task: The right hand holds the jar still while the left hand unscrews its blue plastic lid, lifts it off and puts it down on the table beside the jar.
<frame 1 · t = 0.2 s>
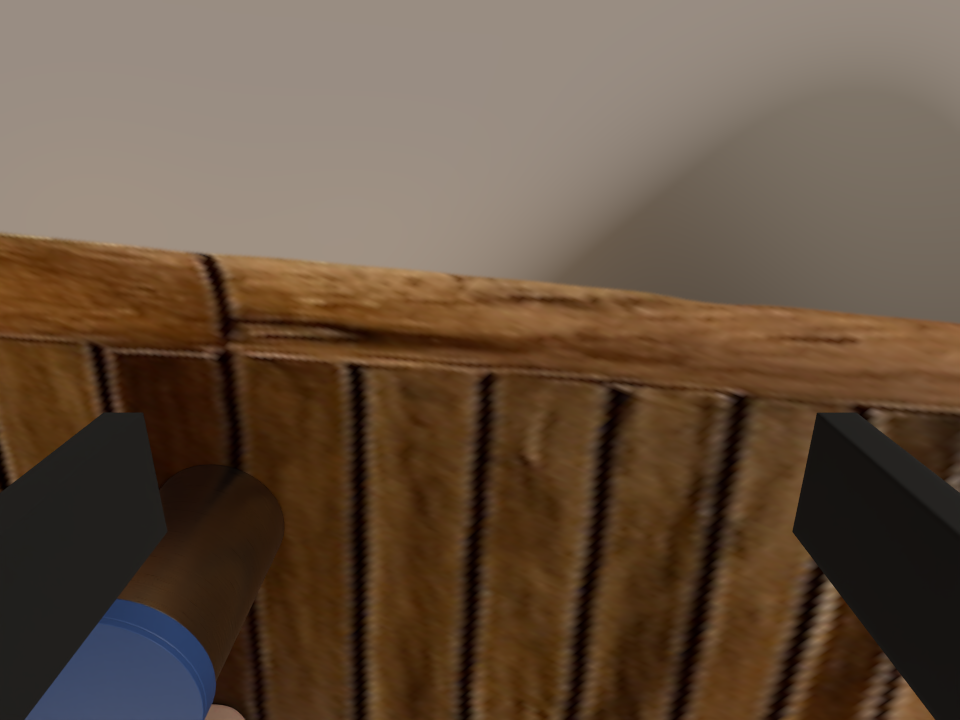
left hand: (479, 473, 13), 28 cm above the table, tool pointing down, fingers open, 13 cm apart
lid: (106, 694, 32), point 15 cm above the table, screwed on, not yet turned
jar: (220, 520, 46), on the table
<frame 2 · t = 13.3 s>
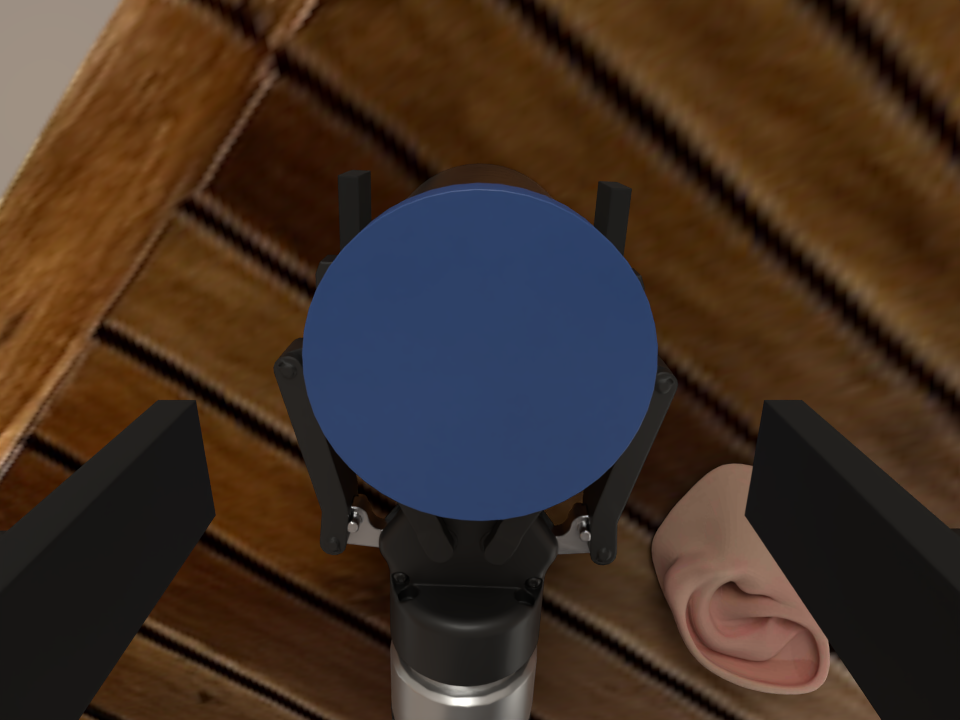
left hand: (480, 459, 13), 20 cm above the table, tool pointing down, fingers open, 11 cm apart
lid: (479, 366, 18), point 15 cm above the table, screwed on, not yet turned
anatomical model: (739, 560, 39), on the table
jar: (480, 259, 32), on the table, touching right hand
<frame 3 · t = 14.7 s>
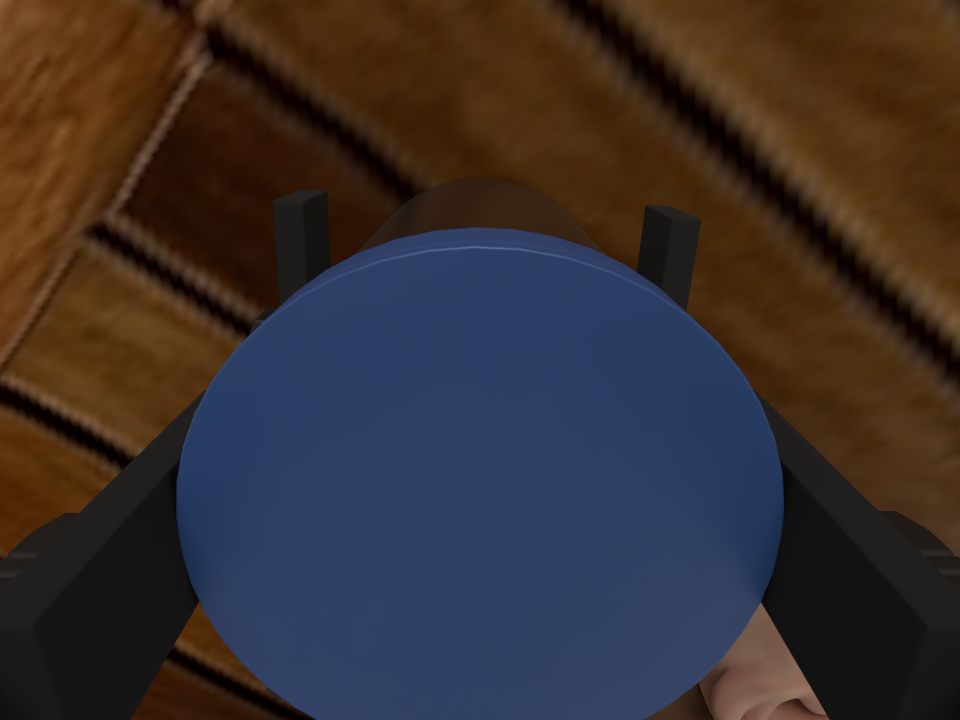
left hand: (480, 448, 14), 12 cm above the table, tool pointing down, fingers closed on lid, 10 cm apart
lid: (480, 533, 11), point 15 cm above the table, screwed on, not yet turned, touching left hand
anatomical model: (800, 663, 31), on the table
jar: (480, 300, 25), on the table, touching right hand
when the left hand's fingers open (12 cm above the table, at t = 16.4 s): lid stays where it is, point 15 cm above the table.
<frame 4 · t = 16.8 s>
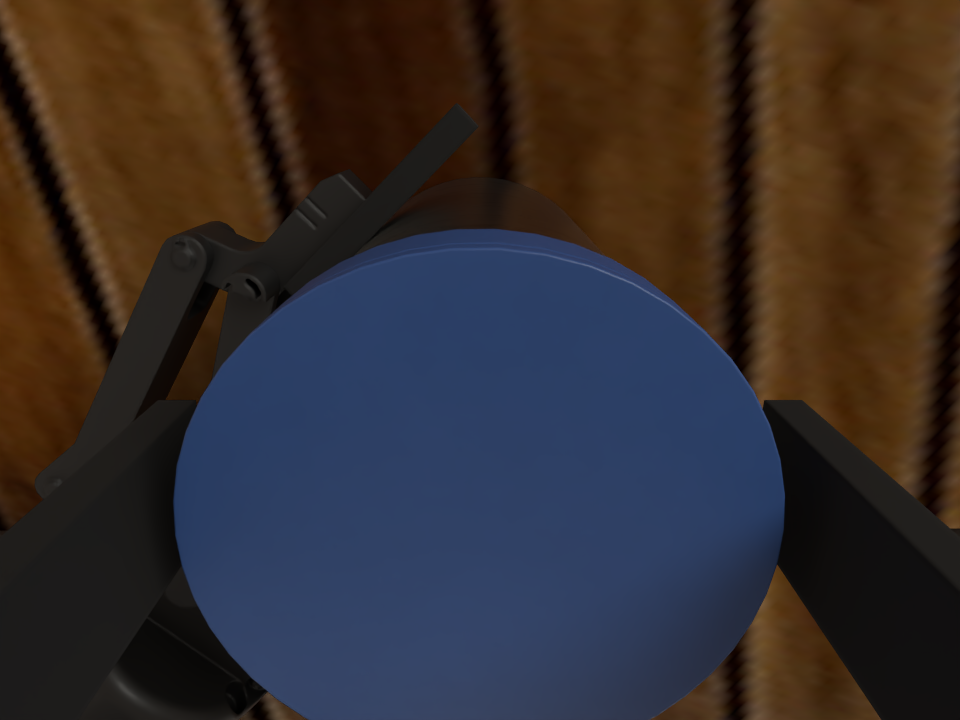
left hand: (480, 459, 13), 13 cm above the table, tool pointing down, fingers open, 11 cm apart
lid: (479, 536, 11), point 15 cm above the table, turned 84° so far, risen 0.2 cm, still on its thread
jar: (479, 299, 25), on the table, touching right hand
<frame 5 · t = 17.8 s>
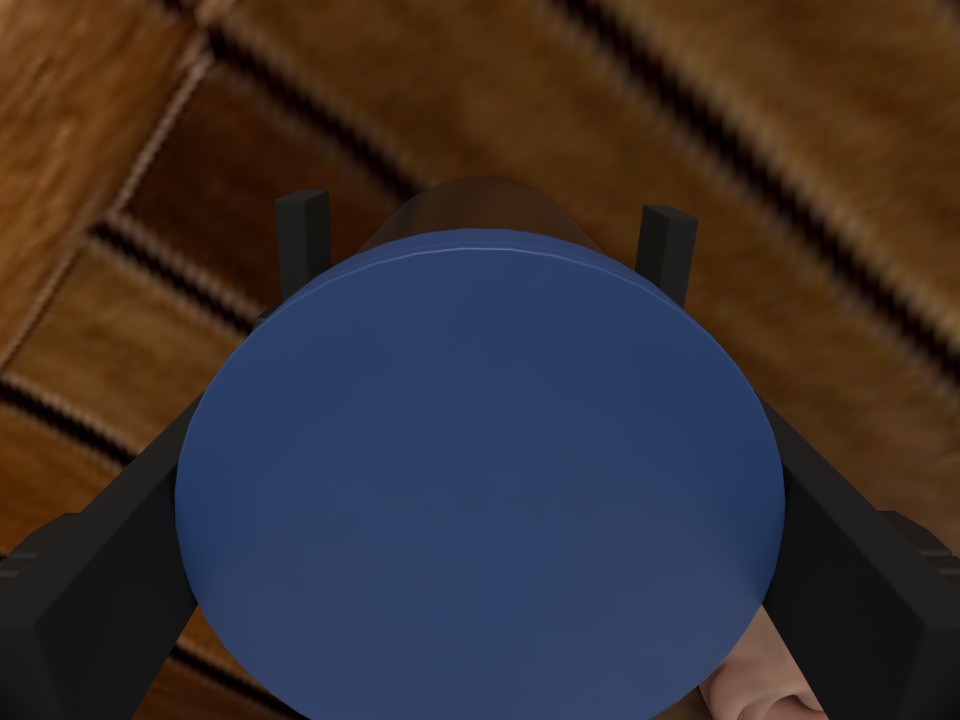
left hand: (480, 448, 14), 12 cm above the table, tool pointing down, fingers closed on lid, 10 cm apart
lid: (479, 535, 11), point 15 cm above the table, turned 84° so far, risen 0.2 cm, still on its thread, touching left hand
anatomical model: (798, 659, 31), on the table
jar: (479, 299, 25), on the table, touching right hand
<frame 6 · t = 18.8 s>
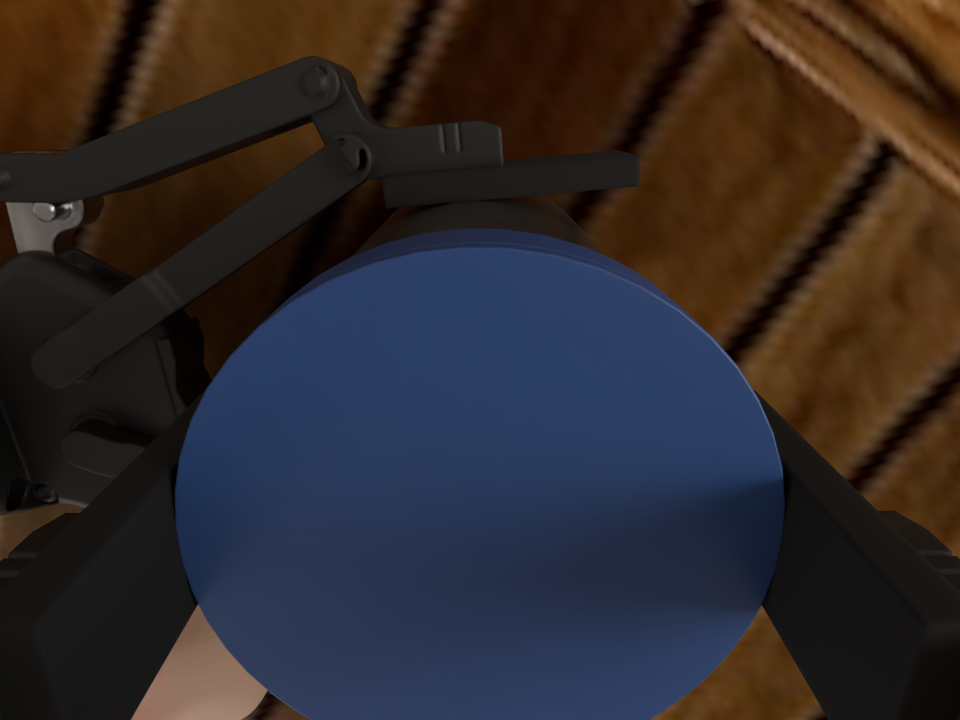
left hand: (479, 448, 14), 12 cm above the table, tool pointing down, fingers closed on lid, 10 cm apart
right hand: (627, 340, 19), fingers closed on jar, 9 cm apart
lid: (479, 535, 11), point 15 cm above the table, off its thread, touching left hand
anatomical model: (152, 650, 32), on the table
jar: (479, 297, 25), on the table, touching right hand
when the left hand's fingers open (0 cm above the table, at t = 24.4 s): lid drops 2 cm, point 1 cm above the table.
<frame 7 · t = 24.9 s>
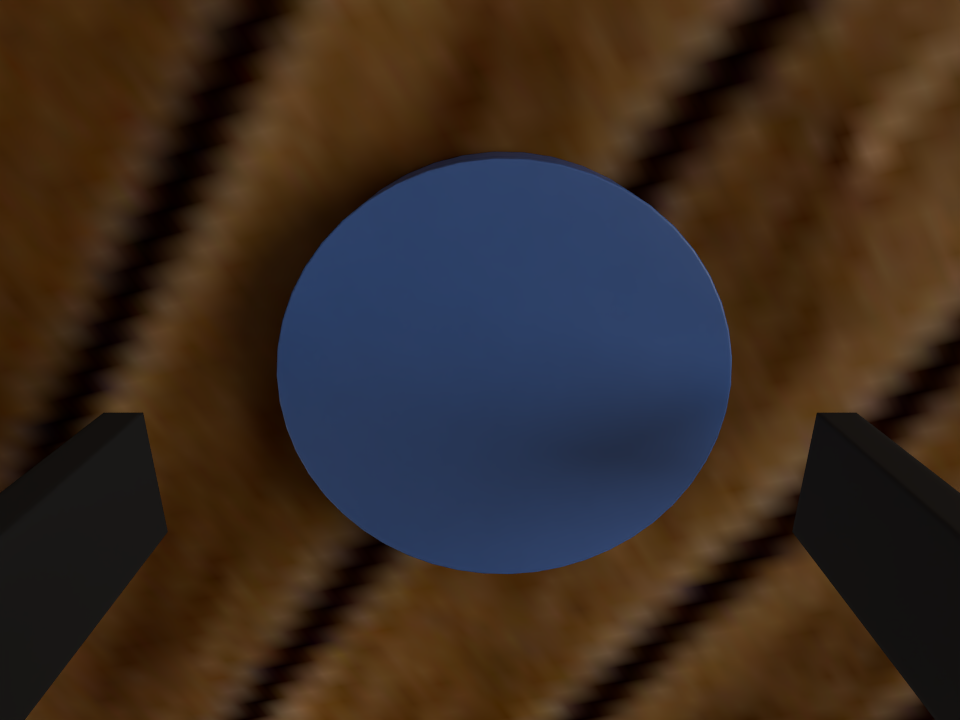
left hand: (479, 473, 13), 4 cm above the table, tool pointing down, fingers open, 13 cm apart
lid: (502, 387, 14), point 1 cm above the table, off its thread
when the right hand's fingers open (6 cm above the table, at t = 25.4 s): jar stays where it is, on the table.
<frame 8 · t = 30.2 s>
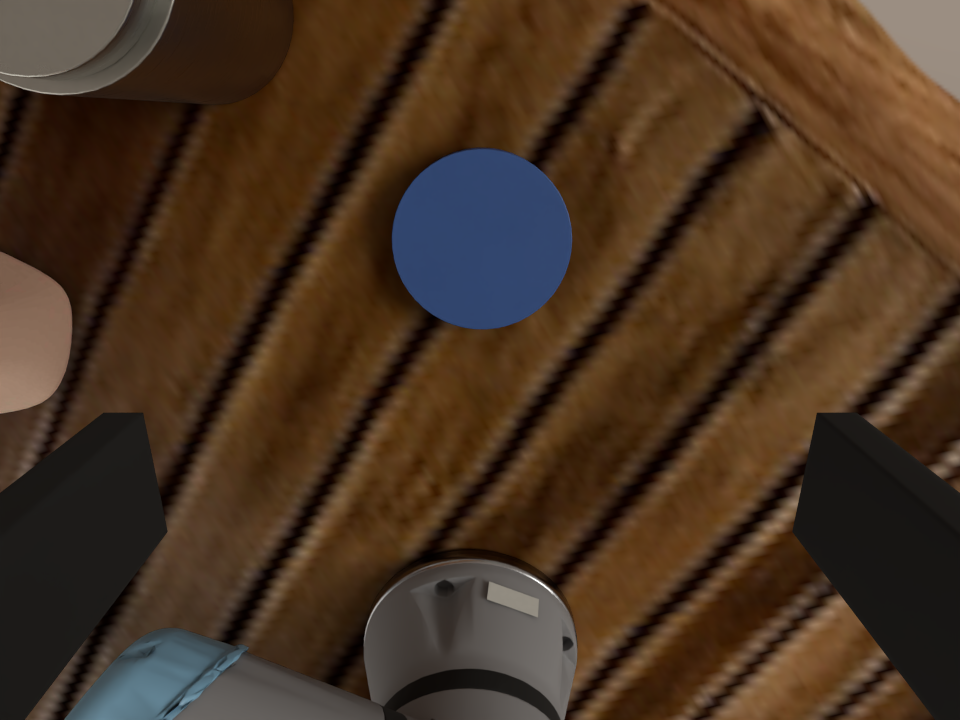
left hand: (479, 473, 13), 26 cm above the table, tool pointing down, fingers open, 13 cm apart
lid: (481, 242, 35), point 1 cm above the table, off its thread
jar: (202, 6, 32), on the table
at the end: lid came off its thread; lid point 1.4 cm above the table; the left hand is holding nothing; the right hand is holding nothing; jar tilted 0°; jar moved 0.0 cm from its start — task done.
